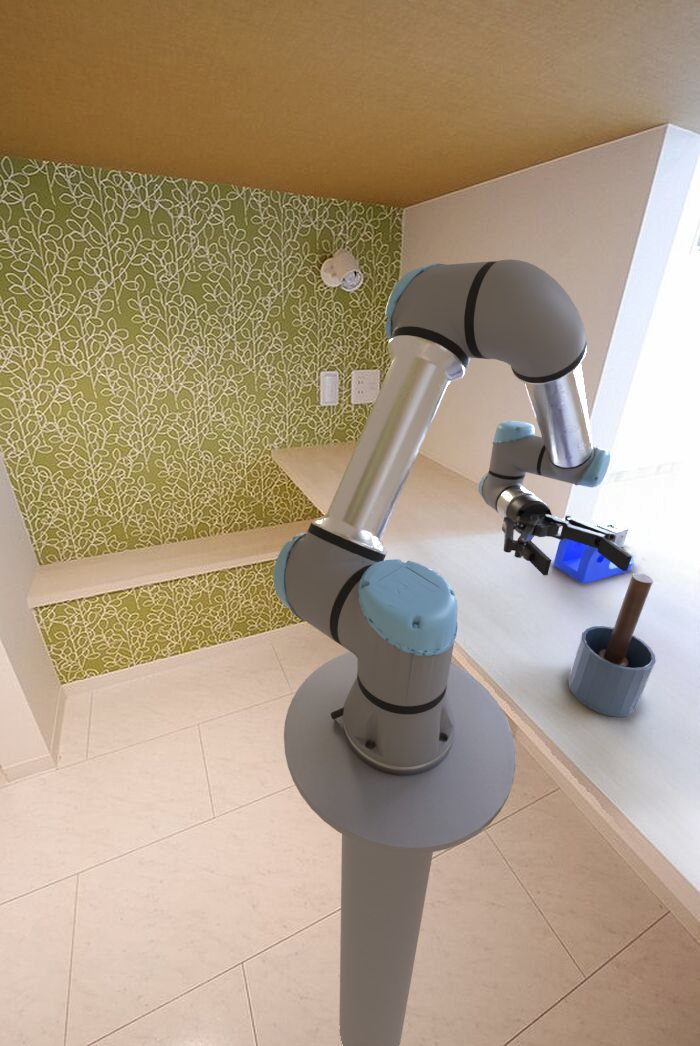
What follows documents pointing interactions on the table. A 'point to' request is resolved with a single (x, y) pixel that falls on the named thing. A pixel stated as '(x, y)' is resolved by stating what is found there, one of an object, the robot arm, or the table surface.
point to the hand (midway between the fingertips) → (588, 565)
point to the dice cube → (615, 532)
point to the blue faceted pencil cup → (609, 674)
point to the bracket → (584, 562)
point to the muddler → (627, 620)
